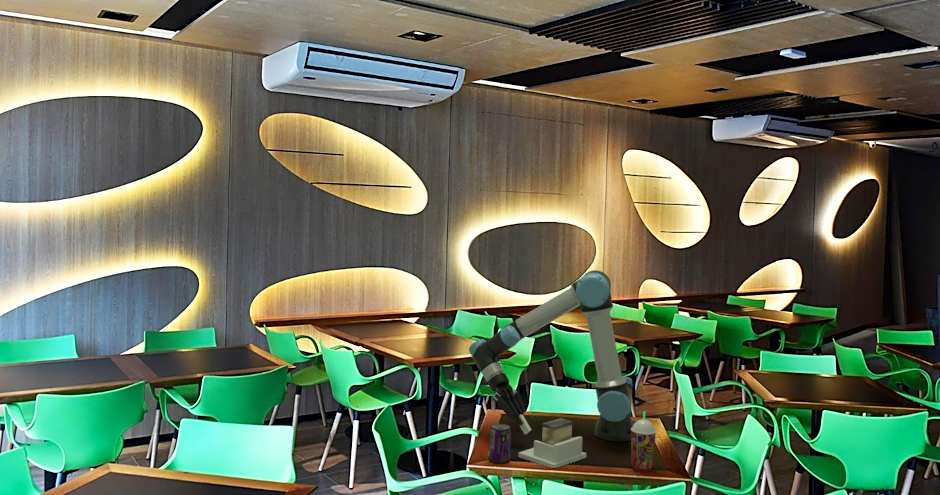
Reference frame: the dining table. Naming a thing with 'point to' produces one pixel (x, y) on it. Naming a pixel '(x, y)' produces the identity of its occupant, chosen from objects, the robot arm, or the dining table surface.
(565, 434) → the grey and beige block
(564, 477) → the dining table surface
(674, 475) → the dining table surface
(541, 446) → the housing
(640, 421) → the smoothie
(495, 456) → the beverage can
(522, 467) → the dining table surface
